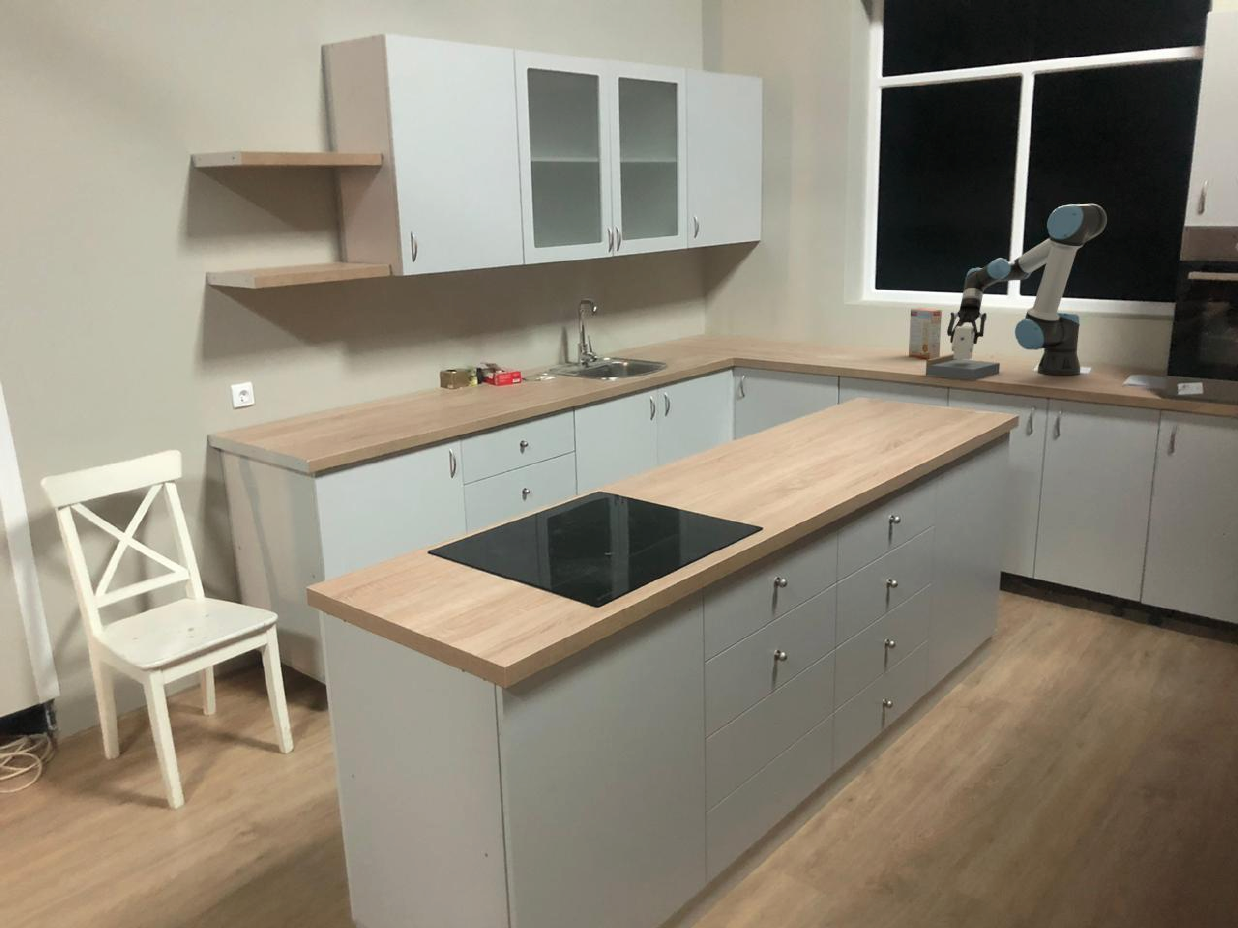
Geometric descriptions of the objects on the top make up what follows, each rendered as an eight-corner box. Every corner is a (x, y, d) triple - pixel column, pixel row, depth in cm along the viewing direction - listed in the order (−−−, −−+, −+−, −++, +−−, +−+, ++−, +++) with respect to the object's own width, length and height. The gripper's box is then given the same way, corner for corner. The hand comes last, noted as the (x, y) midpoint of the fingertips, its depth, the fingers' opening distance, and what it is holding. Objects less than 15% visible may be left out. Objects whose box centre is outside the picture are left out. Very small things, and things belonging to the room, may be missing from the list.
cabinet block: (972, 357, 384) (973, 326, 381) (969, 360, 378) (971, 328, 375) (956, 356, 387) (957, 326, 383) (953, 359, 381) (954, 328, 378)
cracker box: (940, 358, 423) (942, 310, 418) (929, 359, 421) (931, 310, 416) (919, 354, 436) (921, 307, 431) (908, 355, 434) (910, 308, 429)
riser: (999, 373, 383) (1000, 357, 382) (973, 380, 370) (974, 364, 369) (952, 368, 398) (953, 353, 396) (925, 374, 385) (926, 359, 383)
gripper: (997, 309, 387) (988, 356, 377) (947, 308, 396) (937, 354, 386) (996, 296, 381) (987, 344, 371) (945, 296, 390) (935, 342, 380)
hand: (961, 349), depth 379 cm, fingers closed on cabinet block, 6 cm apart
